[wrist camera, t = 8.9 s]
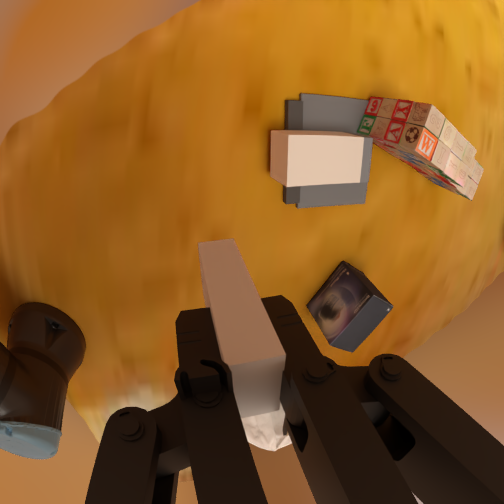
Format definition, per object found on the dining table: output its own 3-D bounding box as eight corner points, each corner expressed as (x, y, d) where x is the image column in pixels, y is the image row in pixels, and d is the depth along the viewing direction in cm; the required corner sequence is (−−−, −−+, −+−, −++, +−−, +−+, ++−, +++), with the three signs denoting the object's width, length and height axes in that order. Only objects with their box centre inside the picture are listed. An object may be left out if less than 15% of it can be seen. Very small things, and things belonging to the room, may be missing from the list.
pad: (282, 207, 42) (285, 210, 41) (285, 92, 34) (288, 92, 33) (362, 202, 45) (366, 204, 44) (371, 101, 37) (376, 101, 36)
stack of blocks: (446, 154, 44) (498, 175, 34) (434, 184, 47) (484, 209, 36) (369, 95, 36) (433, 103, 25) (355, 132, 38) (416, 150, 28)
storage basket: (189, 348, 50) (200, 418, 38) (268, 303, 50) (300, 369, 37) (252, 400, 63) (270, 454, 50) (315, 367, 62) (342, 419, 50)
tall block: (286, 187, 33) (368, 182, 37) (288, 134, 30) (372, 138, 34) (270, 176, 38) (346, 172, 41) (271, 130, 35) (350, 132, 38)
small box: (341, 258, 49) (374, 293, 40) (363, 272, 52) (396, 306, 43) (303, 305, 52) (328, 346, 43) (327, 315, 55) (353, 353, 46)
